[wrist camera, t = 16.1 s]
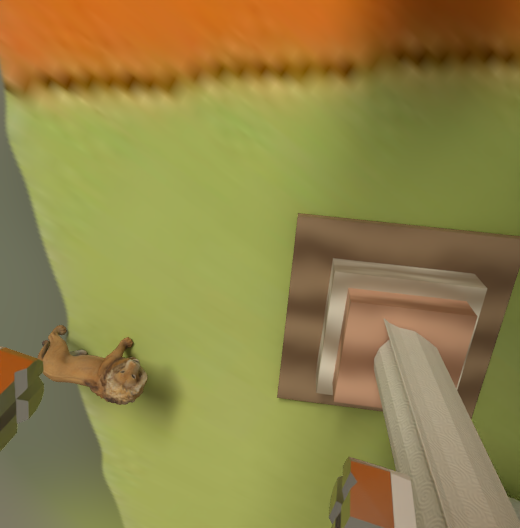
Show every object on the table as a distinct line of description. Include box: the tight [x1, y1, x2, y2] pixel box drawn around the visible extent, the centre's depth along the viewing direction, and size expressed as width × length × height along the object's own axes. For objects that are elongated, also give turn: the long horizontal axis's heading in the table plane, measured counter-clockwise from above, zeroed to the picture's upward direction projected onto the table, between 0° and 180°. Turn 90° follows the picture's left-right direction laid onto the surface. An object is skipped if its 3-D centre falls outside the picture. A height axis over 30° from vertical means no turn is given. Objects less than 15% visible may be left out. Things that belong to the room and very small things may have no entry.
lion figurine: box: [38, 325, 147, 405], centre depth 50 cm, size 15×5×9 cm, turn 89°
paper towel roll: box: [374, 319, 520, 528], centre depth 32 cm, size 7×6×21 cm
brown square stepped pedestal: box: [277, 213, 520, 418], centre depth 45 cm, size 22×22×8 cm
